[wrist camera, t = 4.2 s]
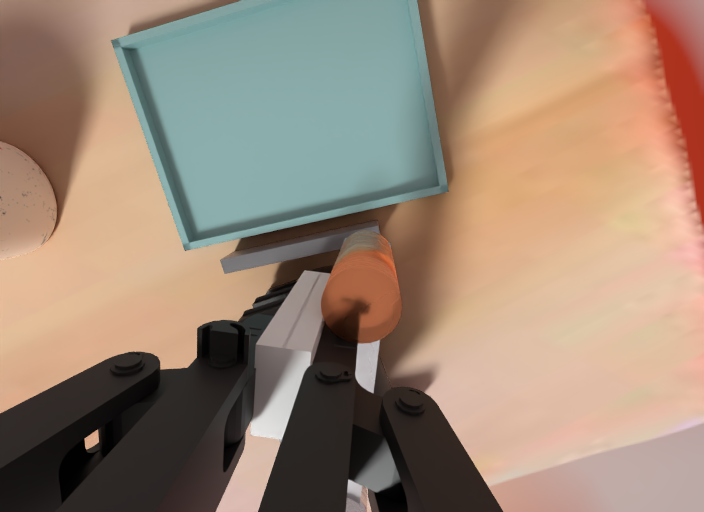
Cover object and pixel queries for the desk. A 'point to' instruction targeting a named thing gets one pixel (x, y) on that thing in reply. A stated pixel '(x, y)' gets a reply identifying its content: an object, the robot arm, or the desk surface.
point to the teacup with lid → (23, 204)
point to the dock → (293, 248)
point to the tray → (285, 113)
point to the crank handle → (362, 312)
